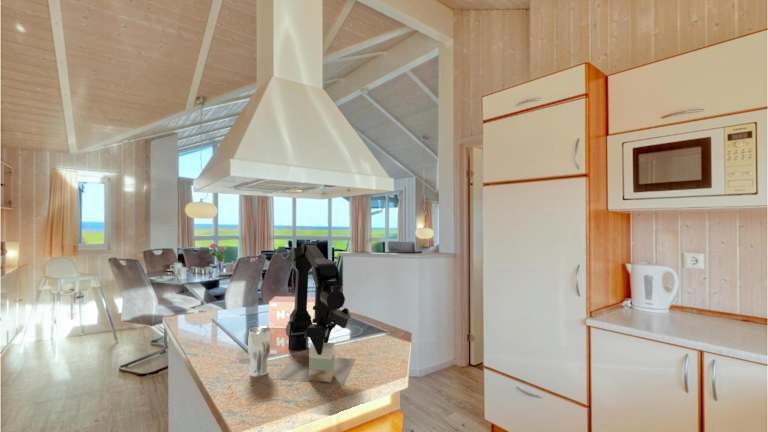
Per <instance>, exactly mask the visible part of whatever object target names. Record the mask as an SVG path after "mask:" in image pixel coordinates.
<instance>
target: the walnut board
mask: <svg viewBox="0 0 768 432" xmlns="http://www.w3.org/2000/svg"><path fill="white" fill-rule="evenodd" d="M355 362H356V359H355V358H343V357H334V376H333V378H332V380H331V382H325V381H314V380H309V354H308V355H305V354H296V355H295V356H294V357H293V358H292V359H291V360H290V362H288V364H287V365H286V366H285V367H284V368H283V369H282V370H281V371H280V373H279V374H278V375H277V376H276V377H275V378H274V380H277V381H278V380H279V381H289V382H299V383H300V382H302V383H315V384H327V385H335V386H336V385H338V386H339V385H340V386H344V385H345V383H346V381H347V378H348V376H349V375H350V373H351V370H352V369H353V368H352V367H353V365H354V363H355Z"/></svg>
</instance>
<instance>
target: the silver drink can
mask: <svg viewBox="0 0 768 432" xmlns="http://www.w3.org/2000/svg"><path fill="white" fill-rule="evenodd" d="M271 336H272V335H271V328H270V327H269V326H256V327H255V326H254V327H251V328H249V329H248V338H247V341H248V342H247V351H248V358H249V369H248V370H249V371H248V375H249V377H252V378H253V377H254V378H256V377H257V378H258V377H263V376H265V375H267V374H268V372H269V371H268V360H269V354H270V349H271V345H272V344H271V341H272V339H271Z"/></svg>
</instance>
